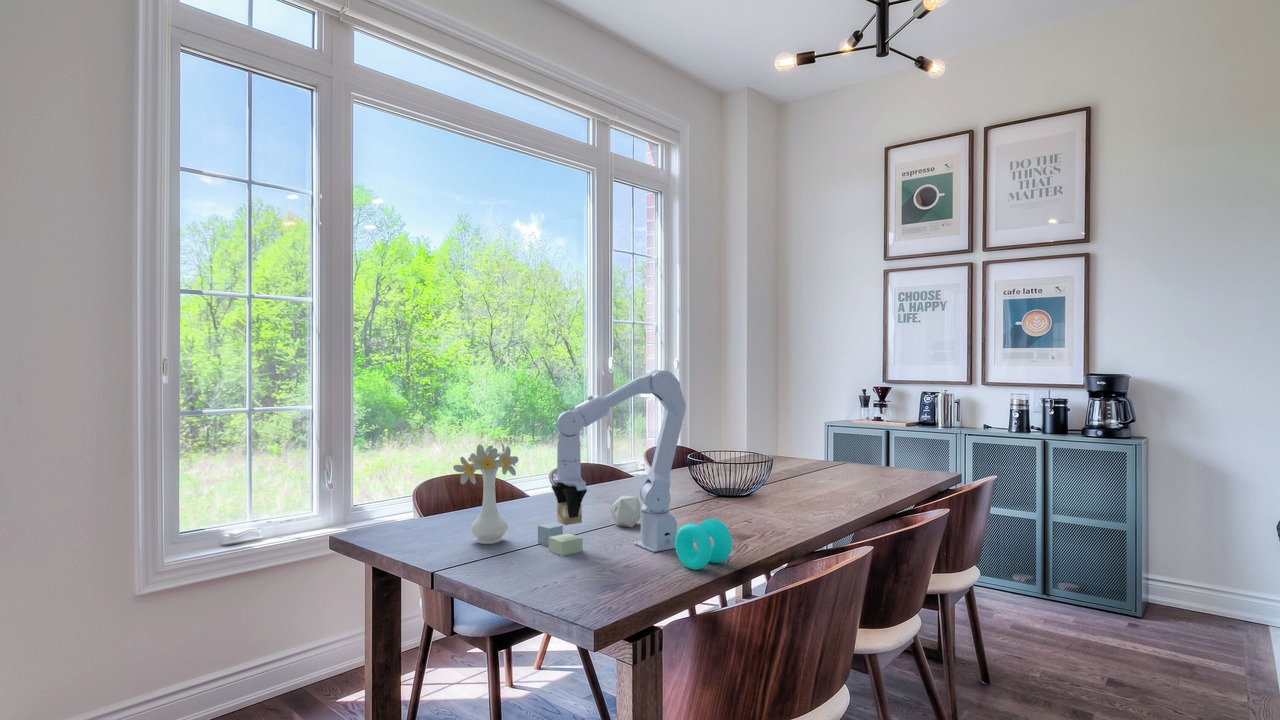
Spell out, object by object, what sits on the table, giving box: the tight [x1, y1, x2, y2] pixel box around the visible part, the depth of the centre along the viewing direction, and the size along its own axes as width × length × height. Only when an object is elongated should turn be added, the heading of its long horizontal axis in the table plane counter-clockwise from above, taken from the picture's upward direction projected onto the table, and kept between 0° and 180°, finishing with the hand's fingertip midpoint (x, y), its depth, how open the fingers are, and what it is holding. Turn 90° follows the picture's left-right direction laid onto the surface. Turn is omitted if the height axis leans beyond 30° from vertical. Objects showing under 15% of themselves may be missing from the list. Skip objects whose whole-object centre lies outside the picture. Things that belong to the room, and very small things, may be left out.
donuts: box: [674, 518, 733, 571], centre depth 151 cm, size 10×10×10 cm
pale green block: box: [548, 533, 584, 556], centre depth 164 cm, size 6×6×4 cm
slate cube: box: [537, 522, 564, 547], centre depth 171 cm, size 4×4×4 cm
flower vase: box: [452, 442, 519, 545], centre depth 172 cm, size 13×18×25 cm
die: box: [609, 495, 642, 528], centre depth 189 cm, size 8×9×10 cm
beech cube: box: [556, 502, 583, 526], centre depth 164 cm, size 4×4×4 cm
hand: (568, 515), depth 164 cm, fingers closed on beech cube, 4 cm apart
